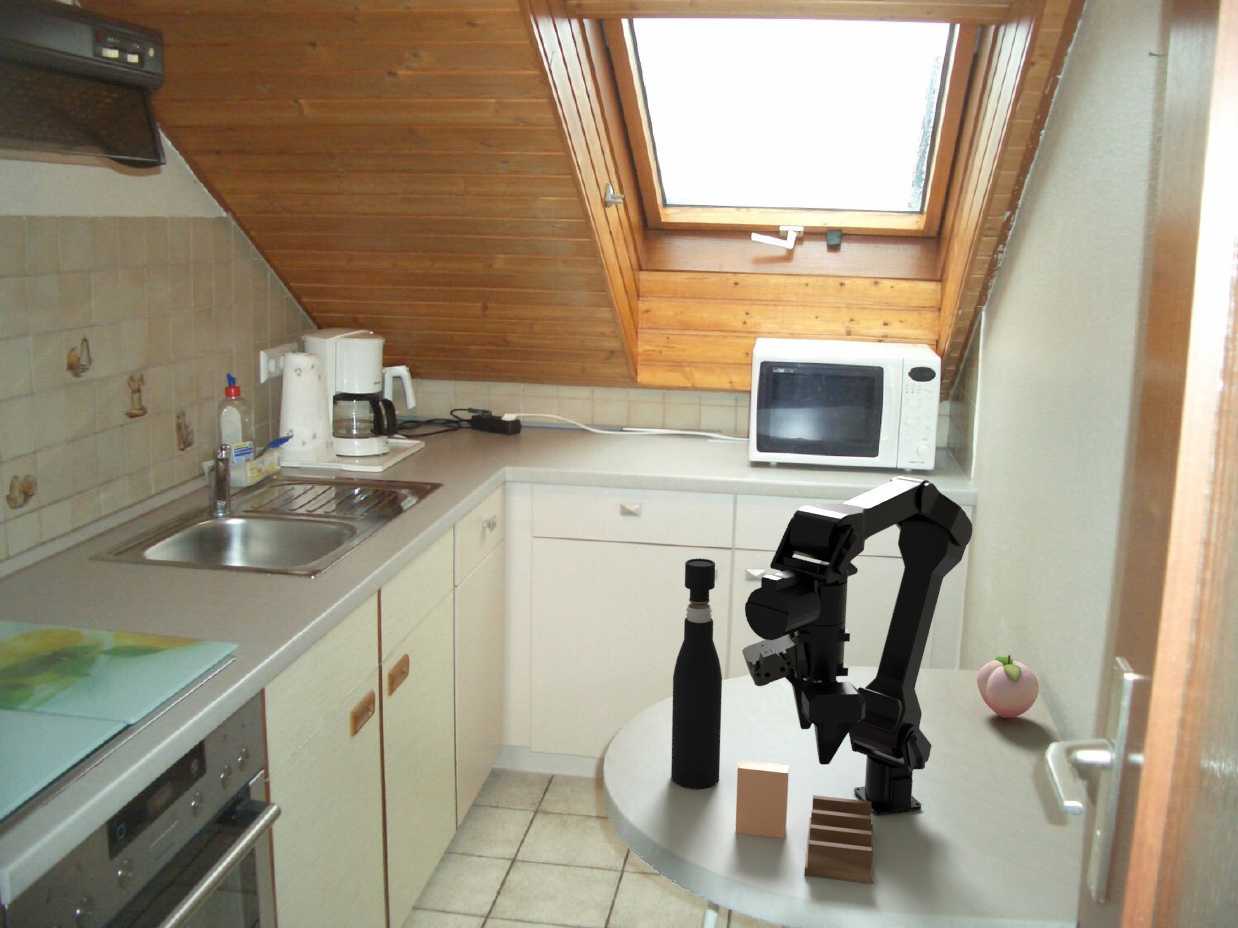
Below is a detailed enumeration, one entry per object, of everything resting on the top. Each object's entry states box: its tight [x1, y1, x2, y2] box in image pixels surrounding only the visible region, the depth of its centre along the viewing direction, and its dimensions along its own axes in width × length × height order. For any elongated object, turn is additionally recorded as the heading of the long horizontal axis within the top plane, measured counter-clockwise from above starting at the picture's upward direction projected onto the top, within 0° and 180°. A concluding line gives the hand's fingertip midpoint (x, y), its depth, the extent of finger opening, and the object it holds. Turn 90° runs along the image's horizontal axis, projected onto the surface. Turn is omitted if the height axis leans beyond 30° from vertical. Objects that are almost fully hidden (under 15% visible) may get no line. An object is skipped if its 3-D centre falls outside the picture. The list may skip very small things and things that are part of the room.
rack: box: [803, 794, 874, 884], centre depth 134 cm, size 12×8×4 cm, turn 168°
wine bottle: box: [670, 558, 723, 790], centre depth 149 cm, size 6×6×30 cm
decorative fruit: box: [976, 654, 1040, 719], centre depth 171 cm, size 9×8×10 cm
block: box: [735, 760, 790, 839], centre depth 138 cm, size 2×6×8 cm, turn 78°
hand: (814, 745), depth 132 cm, fingers open, 9 cm apart
